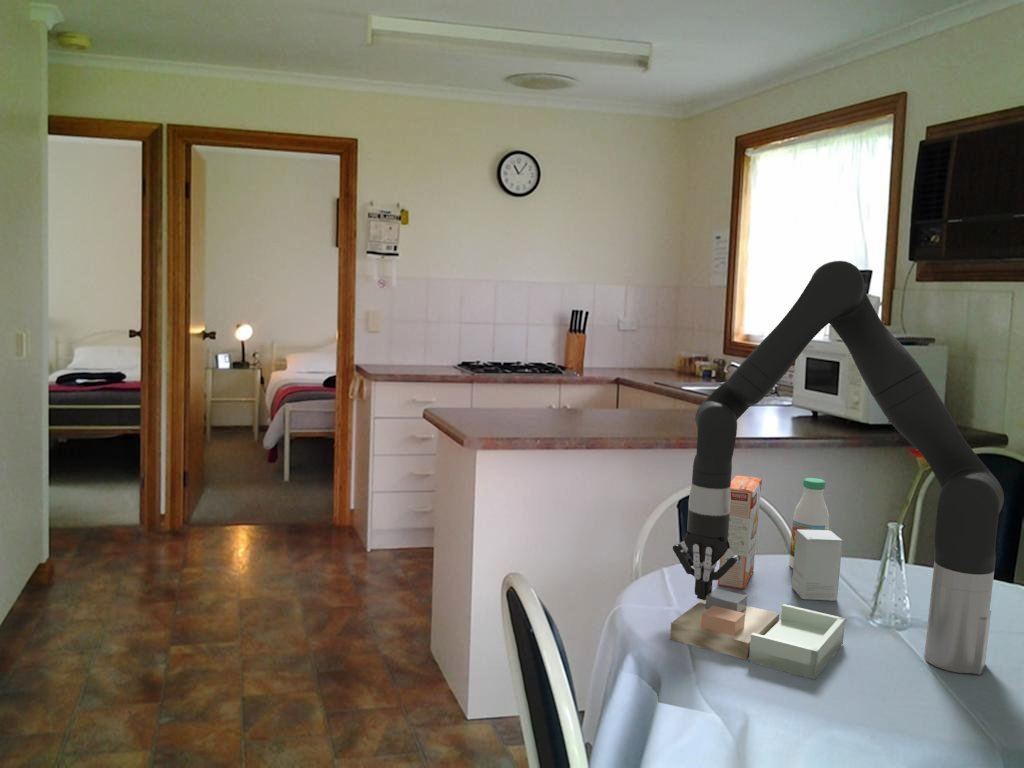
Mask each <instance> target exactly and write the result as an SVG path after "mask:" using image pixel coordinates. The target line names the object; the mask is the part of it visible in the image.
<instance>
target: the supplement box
mask: <svg viewBox="0 0 1024 768" xmlns="http://www.w3.org/2000/svg"><path fill="white" fill-rule="evenodd" d="M842 548H843V539H842V538H840V537H839V536H838V535H837V534H835V533H834V532H833V531H832V530H830V529H829V530H799V529H797V532H796V542H795V555H794V567H793V568H792V580H791V588H792V590H794V591H795V593H796V594H797V595H798V596H799V597H800V599H802V600H811V601H813V600H815V601H832V602H833V601H837V600H838V598H839V597H838V595H839V586H840V585H839V584H840V573H841V572H840V571H841V561H842V560H841V559H842Z"/></svg>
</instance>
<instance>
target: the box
mask: <svg viewBox="0 0 1024 768" xmlns="http://www.w3.org/2000/svg"><path fill="white" fill-rule="evenodd" d="M845 625H846V618H845V617H841V616H837V615H832V614H828V613H825V612H820V611H816V610H812V609H807V608H804V607H803V608H802V607H799V606H794V605H789V604H785V603H783V604H782V605H781V615H780V619H779V622H778V623H776V624H775V625H774V626H773V627H772V628H771V629H770V630H769V631H768V632H767V633H766V634H765V635H760V634H756V633H752V634H751V640H750V653H749V658H748V663H752V664H756V665H760V666H763V667H767V668H771V669H774V670H778V671H782V672H784V673H785V672H786V673H790V674H793V675H797V676H801V677H804V678H807V679H812V680H814V681H815V680H816V679H817V677H818V676H819V675H820V674H821V672H822V671H823V670H824V669H825V667H826V666H827V664H829V663H830V661H831V660H832V659H831V658H833V657H834V656H835V655H836V654H837V652H838V651H839V650H840V649H841V648H842V646H843V645H844V637H845V628H846V627H845ZM842 644H843V645H842ZM841 645H842V646H841ZM839 648H840V649H839ZM838 649H839V650H838ZM837 650H838V651H837ZM835 653H836V654H835ZM834 654H835V655H834ZM833 655H834V656H833ZM830 659H831V660H830Z"/></svg>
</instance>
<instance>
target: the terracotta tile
mask: <svg viewBox="0 0 1024 768" xmlns="http://www.w3.org/2000/svg"><path fill="white" fill-rule="evenodd" d="M744 622H745V613H742V612H738V611H734V610H730V609H725V608H721V607H717V606H711V607H710V608H709V609H707V610H706V611H705V612H703V613H702V622H701V627H702V628H706V629H710V630H714V631H718V632H721V633H725V634H729V635H733V636H735V635H736V634H737V633H738V632H739V631H740V630H741V629H742V628H744Z"/></svg>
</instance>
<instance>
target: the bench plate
mask: <svg viewBox="0 0 1024 768" xmlns="http://www.w3.org/2000/svg"><path fill="white" fill-rule="evenodd" d="M705 606H706V600H702V599H700V601H699V602H697V603H696V604H695V605H693V606H691V608H689V609H688V610H686V611H685V612H684V613H682V614H681V615H680V616H679V617H677V618H676V619H674V620H673V621H672V622H670V635H669V639H670V640H671V639H672V640H673V641H676V642H680V643H683V644H687V645H691V646H694V647H698V648H700V649H705V650H709V651H712V652H713V651H714V652H715V653H720V654H723V655H726V656H727V655H728V656H730V655H731V657H734V658H739V659H742V660H745V661H748V660H749V653H750V640H751V634H752V633H756V634H760V635H765V634H766V633H767V632H768V631H769V630H770V629H771V628H772V627H773V626H774V625H775V624H776V623H778V622H779V621H780V613H779V612H774V611H771V610H766V609H762V608H758V607H755V606H749V605H747V607H746V610H744V611H743V612H742V613H745V622H744V628H742V629H741V630H740V631H739V632H738V633H737V634H736V635H735V636H733V635H729V634H725V633H721V632H718V631H714V630H710V629H706V628H702V627H701V622H702V613H703V612H705V611H706V610H707V609H705ZM672 640H671V641H672Z"/></svg>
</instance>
